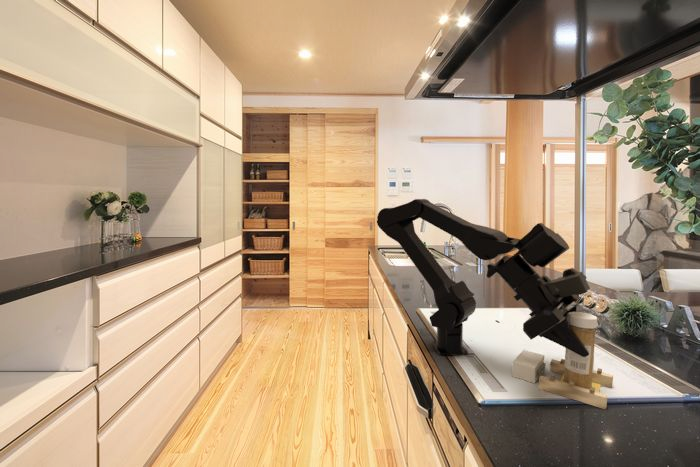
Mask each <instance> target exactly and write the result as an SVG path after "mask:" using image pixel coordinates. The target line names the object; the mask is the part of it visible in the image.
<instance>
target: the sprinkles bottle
mask: <svg viewBox="0 0 700 467" xmlns="http://www.w3.org/2000/svg"><path fill="white" fill-rule="evenodd" d="M569 314H570V327H571V328H572V330H573V331H574V332H575V334H576V335H577V337H578V338H579V339H580V341H581V342H582V343H583V345H584V346H585V348H586V349H587V351H588V352H589V355H588V356H586V357H582V356H580V355H578V354H577V353H575V352H573V351H571V350H569V349H567V348H565V353H564V359H565V371H564V374H563V375H564V379H563V382H565V383H568V384H569V383H570V381H573V382H574V385H575V386H578V387H582V388H585V389H589V390H590V388H591V387H592V373H593V370H594V365H595V364H594V363H595V346H596V345H595V343H596V340H595V339H596V331H597V327H598V317H597V316H596V315H593V314H591V313H586V312H581V311H578V312H569V313H568V314H567V315H569Z"/></svg>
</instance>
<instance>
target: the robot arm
mask: <svg viewBox="0 0 700 467" xmlns="http://www.w3.org/2000/svg"><path fill="white" fill-rule="evenodd" d="M376 216H377V217H376V219H377V220H376V224H377V226H378V228H379V229H380V231H382V232H383V234H384V235H386V236H387V237H388V238H390V239H392V240H394V241H395V242H397V243H398V244H399V245H400V247H401V248H402V249H403V251H404V252H405V254H406V255H407V256H408V258H409V259H410V260H411V262H412V263H413V265H414V266H415V268H417V270H418V272H419V273H420V275H421V276H422V277H423V278H424V280H425V281H426V283H427V284H428V286H429V287H430V288H431V290H432V292H433V297H434V302H435V305H436V307H437V309H438V310H436V311H435V312H434V313H433V314H432V315H430V316H429V321H430V324H431V327H434V328H436V341H432V342H431V343H432V346H433V347H434V349H435V350H436V351H437V353H438V355H439V356H452V355H451V354H459V355H468V354H469V351H468V350H467V349H466V347H464V346H463V339H464V338H463V330H464V328H463V326H464V325H463V324H464V322H467V321H468V318H469V317H470V316H471V315H473V314H474V313H475V311H476V306H477V302H476V300H475V297H474V296H475V293H474V292H472V291H471V290H470V289H469V288H468V286H467V284H466V282H465V281H464V280H461V281H458V282H456V281H454V280H452V279H451V278H450V277H449V276H448V274H447V272H445V270H444V269H443V268H442V266H441V265H440V264H439V261H437V259H436V258H435V257H434V256H433V254H432V253H431V251H430V250H429V249H428V248H427V246H426V245H425V244H424V242H423V241H422V240H421V238H420V237H419V235H417V233H416V230H415V224H414V221H416V220H418V219H421V220H424V221H425V222H427V223H429V224H430V225H432V226H434V227H436V228H437V229H440V230H441V231H444V232H445V233H447V234H448V235H451V236H452V237H454V238H456V239H457V240H458V241H460V242H461V244H463V246H464V247H465V248H466V250H468V251H470V252H471V253H472V254H474V256H475V257H477V258H478V259H481V260H483V261H491V260H494V259H497V258H499V257H502V256H503V257H502V258H500V259H499V260H498V261H496V262H495V263H493V262H492V263H488V264H487V265H486V266H487V267H486V268H487V270H486V271H487V273H486V277H487V278H488V279H490V278H492V277H494V276H496V275H498V276H499V277H500V278H501V280H503V281H504V282H505V284H506V285H507V286H508V287H509V288H510V289H511V290H512V291H513V293H514V294H515V295H514V296H513V298H514V299H515V300H516V301H520V300H521V302H522V303H524V305H525V306H526V307H527V308H528V309H529V310H530V311H531V312H530V313H529V318H528V319H526V321H525V322H523V323H522V331H523V333H524V334H525V335H526V336H527V337H528V338H529V340H533V339H535V338H536V337H540V338H545V339H547V340H549V341H551V342H552V343H555V344H558V345H560V346H562V347H563V348H565V349H566V348H567V349H569V350H571V351H573V352H575V353H577V354H578V355H580V356H582V357H586V356H588V355H589V352H588V351H587V349H586V348H585V346H584V345H583V343H582V342H581V341H580V339H579V338H578V337H577V335H576V334H575V332H574V331H573V330H572V328H571V327H570V314H569V315H567V314H568V313H569V312H579V306H580V305H579V303H576V302H578V301H579V300H580V299H581V296H580V295H583V294H585V293H587V292H588V290H590V285H589V283H588V281H587V276H586V275H585V274H584V273H583V271H577V270H576V269H575V268H574V267H571V268H567V269H565V270H563V271H562V276H560V277H557V278H555V279H552V280H551V279H550V278H549V277H548V276H547V275H544V274H543V275H542V276H541V275H540V274H539V273H538V272H537V271H536V270H535V269H534V268H536V267H537V266H538V267H539V268H542V269H543V268H545V267H547V266H548V265H549V264H550V263H552V262H553V261H555V260H556V259H557V258H559V257H560V256H561V255H563V254H564V253H566V251H568V250H569V249H570V246H569V245H568V243H567V241H566V240H565V239H564V238H563V237H562V236H561V235H560V234H559V233H558V232H557V233H556V232H555V231H554V230H552V229H551V228H550V227H548V226H546V225H544V223H542V222H539V223H536V225H534V226H533V227H532V229H531V230H530V231H528V233H527V234H525V235H524V236H523V237H522V238H517V237H510V236H508V235H507V234H506V233H505V232H503V231H501V230H498V229H495V228H492V227H488V226H485V225H480V224H475V223H472V222H470V221H468V220H466V219H464V218H462V217H461V216H460V217H459V216H458V215H456V214H454V213H451V211H448V210H446V209H444V208H442V207H441V206H438V205H436V204H434V203H432V202H431V201H430V200H429V199H426V198H417V199H413V200H412V201H409V202H407V203H403V204H400V205H398V206H395V207H384V208H382V209H381V210H379V211H378V214H377V215H376ZM517 250H518V251H517ZM514 251H516V252H515V253H514V254H513V255H512V256H508V255H505V254H509V253H511V252H514ZM533 267H534V268H533ZM574 302H575V303H576V304H575V305H573V306H571V304H572V303H574Z"/></svg>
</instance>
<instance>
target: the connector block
mask: <svg viewBox="0 0 700 467" xmlns="http://www.w3.org/2000/svg"><path fill="white" fill-rule="evenodd" d="M545 359H546V357H545V354H541V353H537V352H533V351H529V350H526V349H522V351H521V352H520V353H519V354H518V355H517V356H516V357H515V359H513V361H512V370H511V372H512V373H511V377H513V376H514V377H513V378H517V379H519V378H520V379H519V380H522V381H525V382H530V383H532V384H535V383H536V382H537V380H539V377H540V376H542V374H543V373H544V371H545V370H546V362H545Z"/></svg>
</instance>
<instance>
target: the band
mask: <svg viewBox="0 0 700 467" xmlns="http://www.w3.org/2000/svg"><path fill="white" fill-rule="evenodd" d="M563 379H564V374H562V376H561V378H560V380H559V381H561V382H563ZM601 386H602V385H601V384H598V383H594V382H592V387H593V388H595V392H599V393H600V390H601V388H602V387H601Z"/></svg>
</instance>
